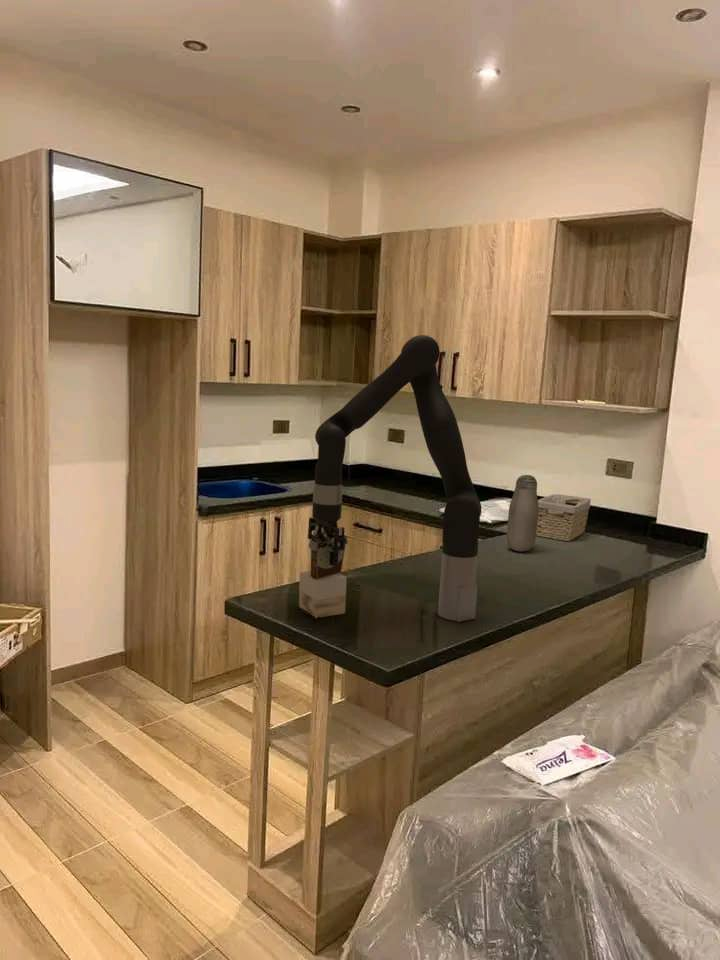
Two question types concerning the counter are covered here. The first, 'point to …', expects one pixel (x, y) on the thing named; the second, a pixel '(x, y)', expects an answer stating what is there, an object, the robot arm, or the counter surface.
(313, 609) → the tower base block
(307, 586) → the tower top block
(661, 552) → the counter surface
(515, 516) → the grey bottle
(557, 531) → the storage basket
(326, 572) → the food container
